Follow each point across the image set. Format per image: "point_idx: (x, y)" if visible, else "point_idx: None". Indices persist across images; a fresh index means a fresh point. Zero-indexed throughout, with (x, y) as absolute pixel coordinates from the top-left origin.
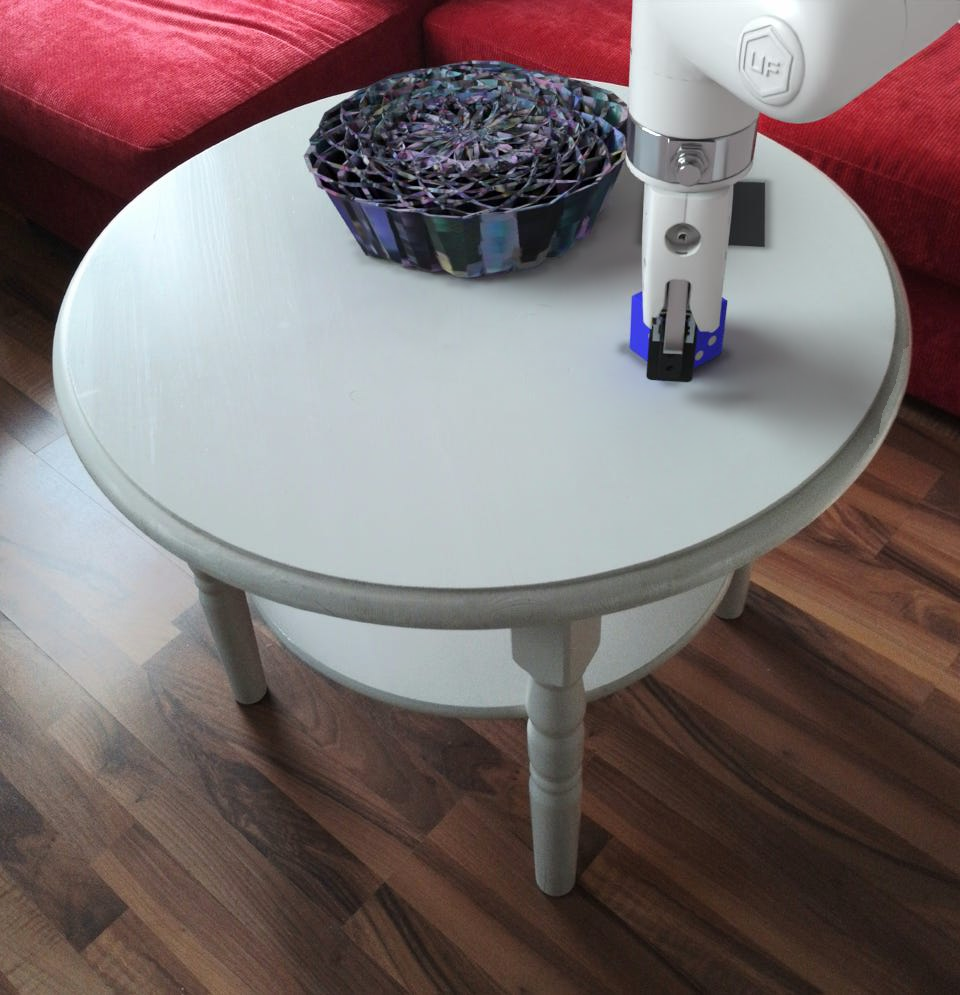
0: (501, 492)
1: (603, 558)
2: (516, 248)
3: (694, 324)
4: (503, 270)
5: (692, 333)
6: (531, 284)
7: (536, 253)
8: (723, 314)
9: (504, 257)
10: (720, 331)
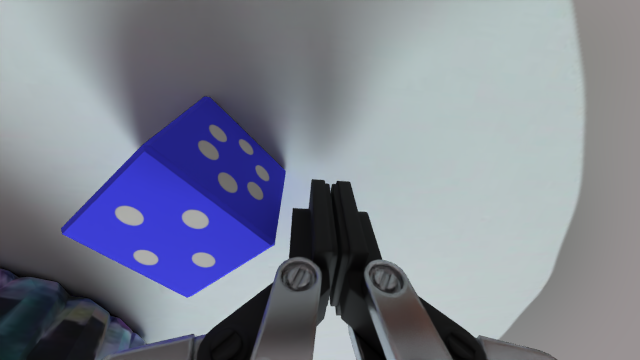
0: (438, 299)
1: (553, 237)
2: (97, 355)
3: (437, 336)
4: (121, 326)
5: (417, 302)
6: (126, 298)
7: (85, 328)
8: (175, 137)
9: (114, 350)
10: (197, 123)
